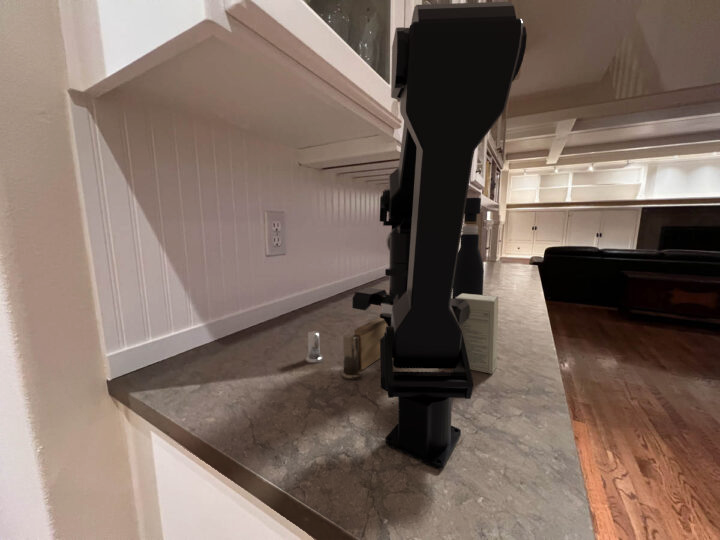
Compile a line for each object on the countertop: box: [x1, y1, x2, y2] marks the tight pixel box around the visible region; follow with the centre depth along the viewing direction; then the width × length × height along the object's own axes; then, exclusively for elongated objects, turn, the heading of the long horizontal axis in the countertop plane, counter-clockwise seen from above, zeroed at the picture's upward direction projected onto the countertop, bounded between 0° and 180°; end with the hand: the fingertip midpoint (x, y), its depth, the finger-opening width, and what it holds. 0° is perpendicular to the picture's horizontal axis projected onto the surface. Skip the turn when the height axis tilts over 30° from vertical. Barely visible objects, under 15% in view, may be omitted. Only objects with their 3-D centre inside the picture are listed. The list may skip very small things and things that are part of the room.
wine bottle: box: [451, 197, 485, 299], centre depth 65 cm, size 6×6×30 cm
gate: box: [354, 317, 388, 371], centre depth 52 cm, size 9×1×7 cm, turn 145°
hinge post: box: [340, 333, 362, 381], centre depth 47 cm, size 3×3×6 cm
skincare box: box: [455, 293, 499, 375], centre depth 49 cm, size 6×4×12 cm
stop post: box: [305, 330, 324, 364], centre depth 52 cm, size 3×3×5 cm
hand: (405, 354), depth 49 cm, fingers closed
